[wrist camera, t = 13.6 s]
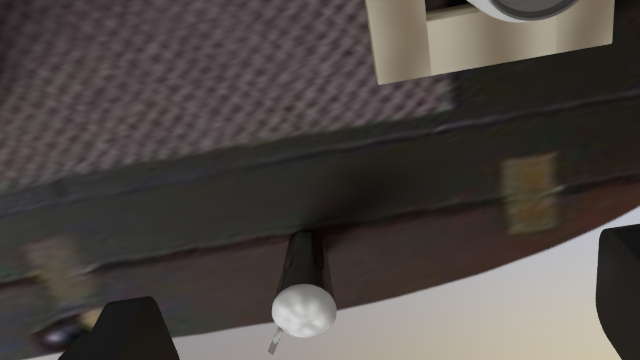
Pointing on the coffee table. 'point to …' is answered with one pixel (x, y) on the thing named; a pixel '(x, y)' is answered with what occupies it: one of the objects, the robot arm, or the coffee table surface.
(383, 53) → the socket block
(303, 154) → the coffee table surface
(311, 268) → the milkshake
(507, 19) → the can
